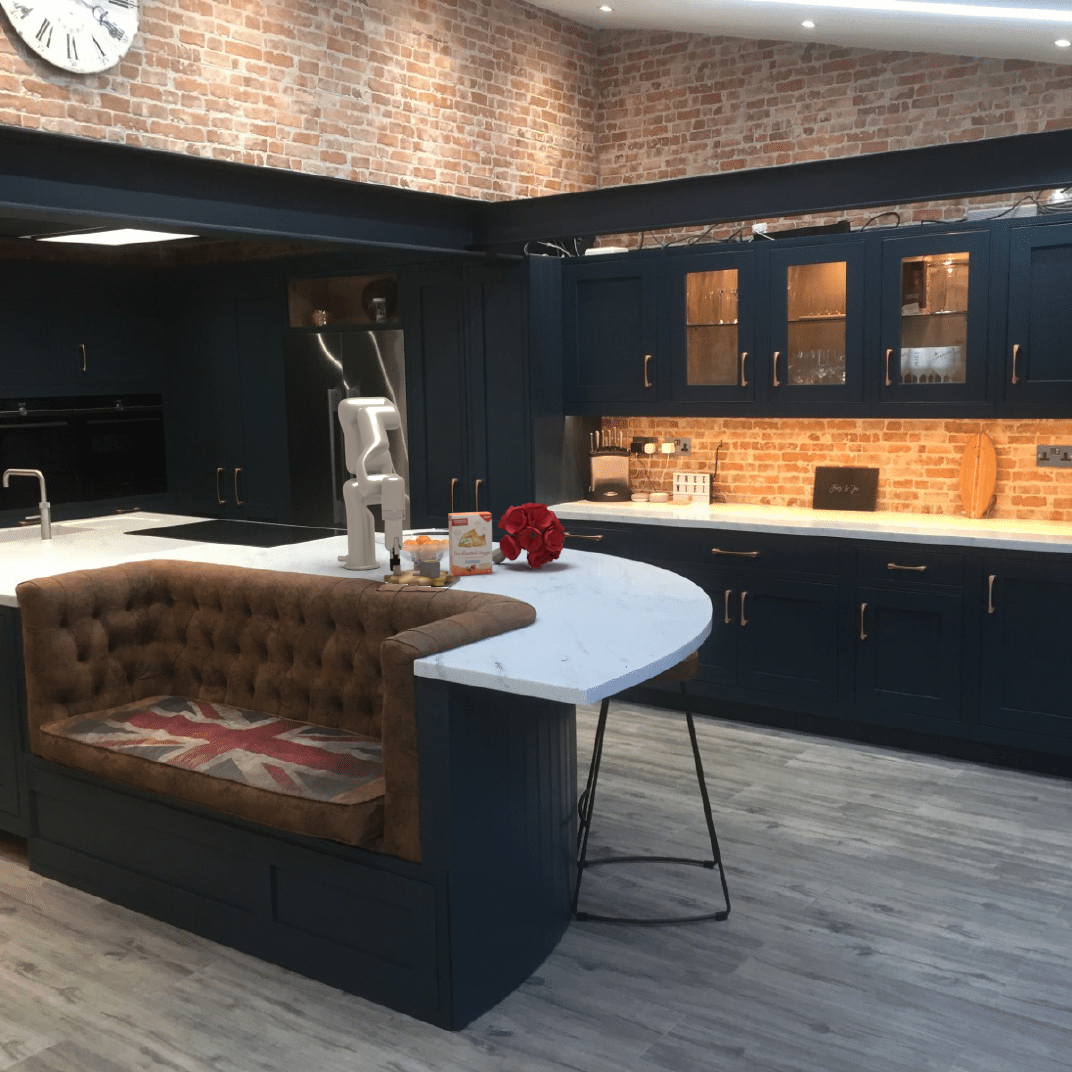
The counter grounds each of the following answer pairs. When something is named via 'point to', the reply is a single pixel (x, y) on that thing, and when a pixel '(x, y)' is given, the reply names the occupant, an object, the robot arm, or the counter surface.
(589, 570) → the counter surface
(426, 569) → the grey small block
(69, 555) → the counter surface
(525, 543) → the bouquet
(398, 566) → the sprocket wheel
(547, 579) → the counter surface
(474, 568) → the cracker box
